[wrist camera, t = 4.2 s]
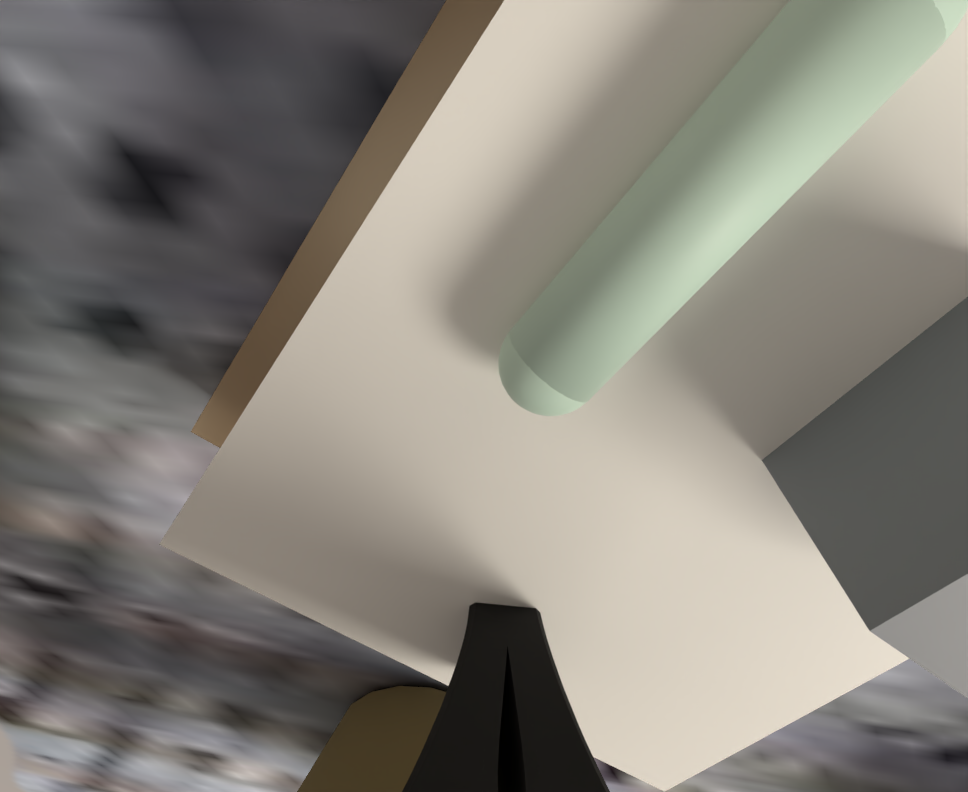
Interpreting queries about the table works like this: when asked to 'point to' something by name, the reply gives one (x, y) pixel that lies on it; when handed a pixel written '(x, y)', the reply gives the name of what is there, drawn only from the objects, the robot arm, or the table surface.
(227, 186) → the table surface
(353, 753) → the squeeze bottle
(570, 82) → the level plate
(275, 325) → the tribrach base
